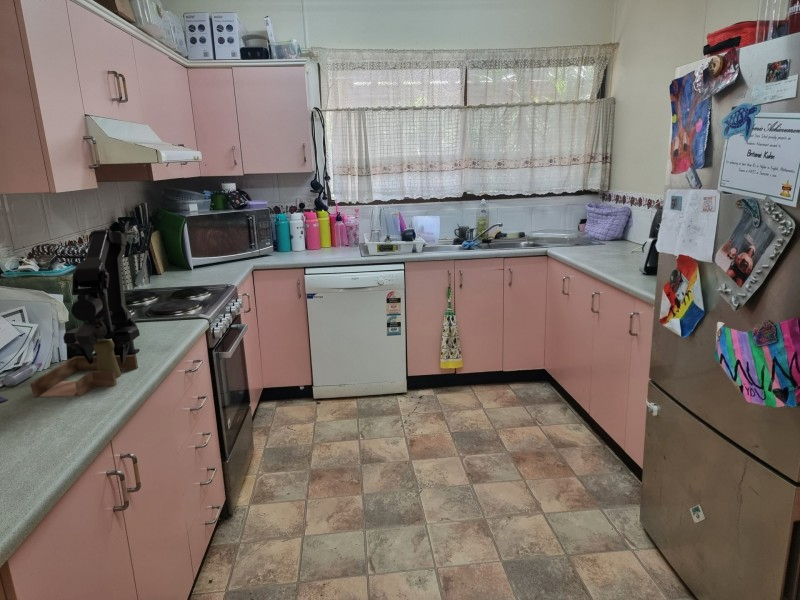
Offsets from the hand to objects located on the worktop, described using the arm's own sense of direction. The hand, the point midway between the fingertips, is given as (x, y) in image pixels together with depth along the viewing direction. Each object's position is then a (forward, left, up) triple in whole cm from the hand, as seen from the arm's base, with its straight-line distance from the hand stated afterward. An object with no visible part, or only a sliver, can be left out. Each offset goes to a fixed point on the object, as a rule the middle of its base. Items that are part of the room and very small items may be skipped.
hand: (107, 363), depth 149 cm
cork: (0, 0, -4) cm, 4 cm away
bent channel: (+3, -4, -4) cm, 6 cm away
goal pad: (+8, -7, -4) cm, 11 cm away
